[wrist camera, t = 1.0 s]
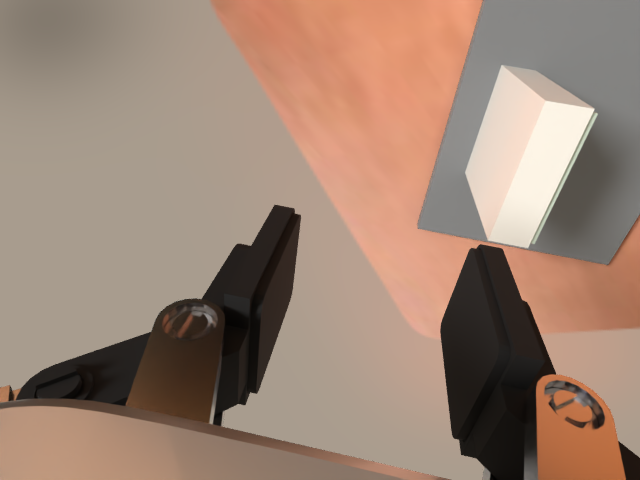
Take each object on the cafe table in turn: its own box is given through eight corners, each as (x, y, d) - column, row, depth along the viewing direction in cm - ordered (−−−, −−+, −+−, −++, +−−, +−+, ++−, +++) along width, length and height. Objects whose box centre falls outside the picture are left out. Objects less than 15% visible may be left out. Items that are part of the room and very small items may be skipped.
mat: (762, -2, 22) (773, -1, 21) (603, 258, 31) (608, 265, 30) (494, -40, 23) (497, -40, 22) (417, 223, 32) (417, 228, 31)
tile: (540, 71, 25) (602, 110, 17) (498, 178, 28) (533, 249, 21) (501, 64, 25) (545, 100, 17) (464, 172, 29) (487, 240, 21)
